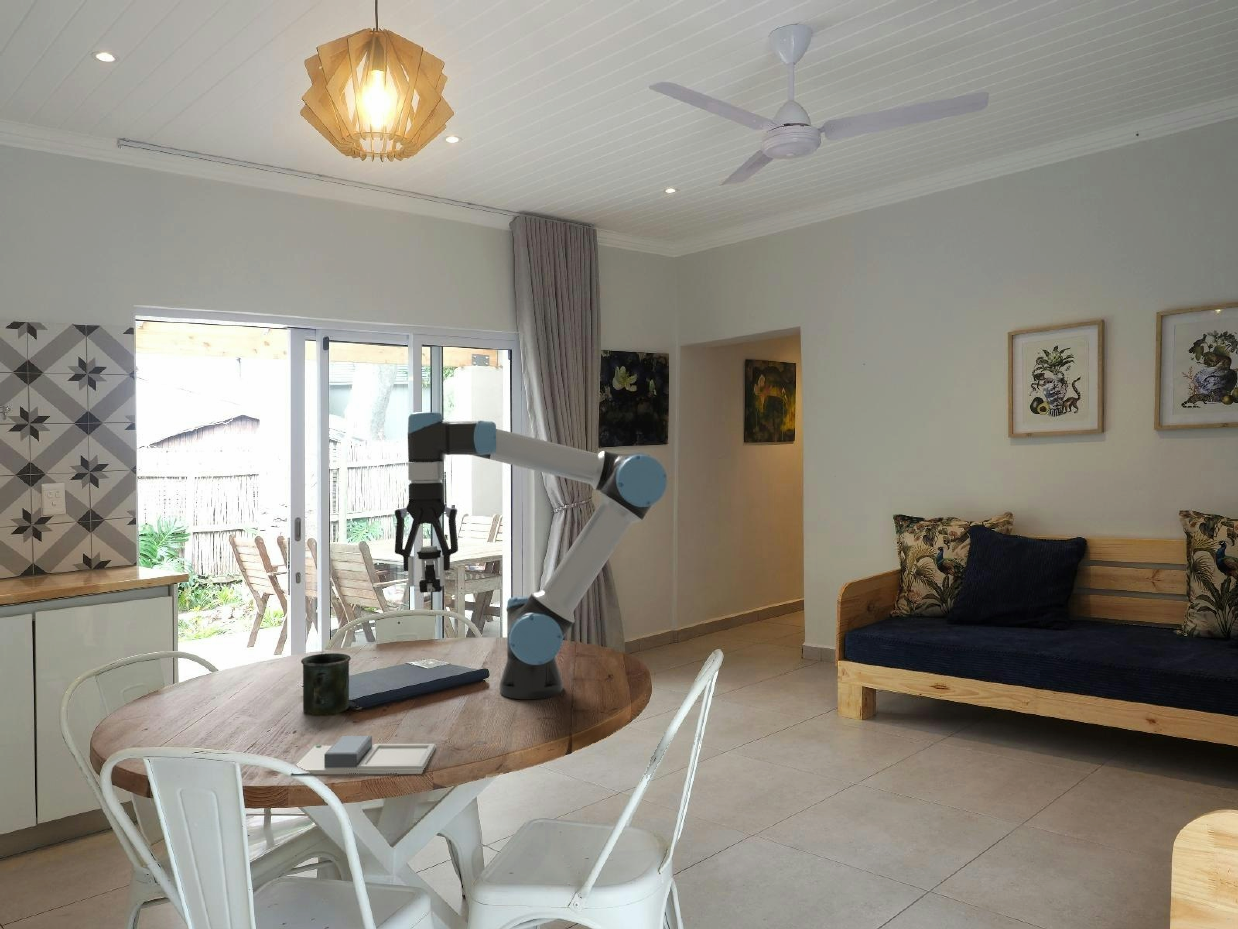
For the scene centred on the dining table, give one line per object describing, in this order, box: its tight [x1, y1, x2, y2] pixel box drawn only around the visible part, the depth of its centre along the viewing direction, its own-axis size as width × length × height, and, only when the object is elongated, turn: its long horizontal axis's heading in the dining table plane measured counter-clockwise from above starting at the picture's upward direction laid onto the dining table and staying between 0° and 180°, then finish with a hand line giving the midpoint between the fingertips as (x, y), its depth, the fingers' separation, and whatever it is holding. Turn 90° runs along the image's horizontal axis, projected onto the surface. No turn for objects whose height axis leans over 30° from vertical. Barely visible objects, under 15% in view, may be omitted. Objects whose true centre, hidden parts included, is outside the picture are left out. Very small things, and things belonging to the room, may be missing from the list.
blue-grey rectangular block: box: [324, 735, 373, 768], centre depth 175 cm, size 6×11×3 cm, turn 1°
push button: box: [414, 545, 443, 594], centre depth 203 cm, size 7×5×10 cm
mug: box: [300, 652, 352, 717], centre depth 208 cm, size 11×15×12 cm
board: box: [295, 743, 437, 775], centre depth 175 cm, size 24×14×1 cm, turn 91°
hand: (427, 585), depth 203 cm, fingers closed on push button, 6 cm apart
